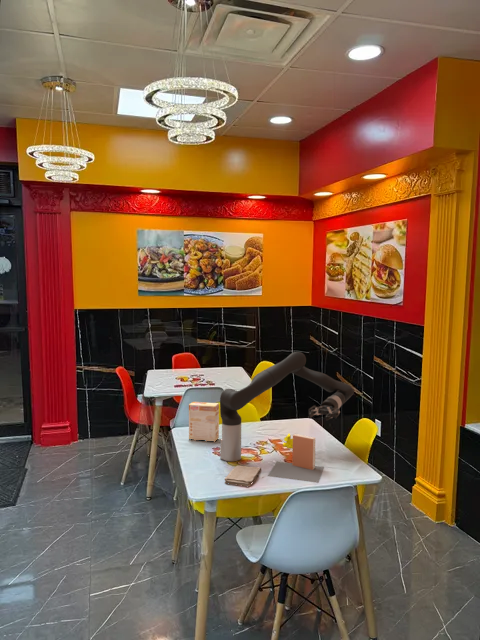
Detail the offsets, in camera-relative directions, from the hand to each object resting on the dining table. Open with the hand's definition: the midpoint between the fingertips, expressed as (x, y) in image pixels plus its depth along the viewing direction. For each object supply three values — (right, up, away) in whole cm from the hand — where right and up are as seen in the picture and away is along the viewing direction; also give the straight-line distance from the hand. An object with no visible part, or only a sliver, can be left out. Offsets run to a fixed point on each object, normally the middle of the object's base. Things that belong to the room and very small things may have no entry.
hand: (317, 417), depth 224 cm
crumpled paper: (-11, -20, +19) cm, 30 cm away
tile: (-8, -21, -8) cm, 24 cm away
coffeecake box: (-56, -18, +31) cm, 67 cm away
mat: (-12, -22, -14) cm, 29 cm away
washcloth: (-36, -23, -19) cm, 46 cm away
